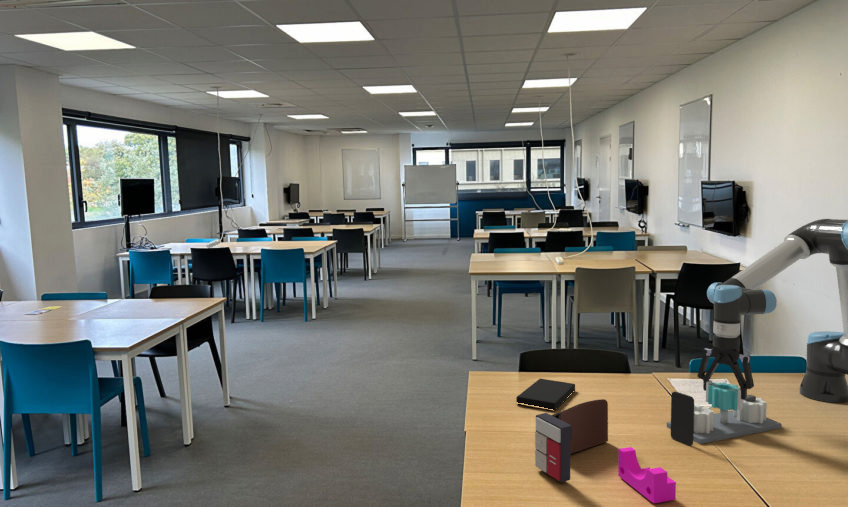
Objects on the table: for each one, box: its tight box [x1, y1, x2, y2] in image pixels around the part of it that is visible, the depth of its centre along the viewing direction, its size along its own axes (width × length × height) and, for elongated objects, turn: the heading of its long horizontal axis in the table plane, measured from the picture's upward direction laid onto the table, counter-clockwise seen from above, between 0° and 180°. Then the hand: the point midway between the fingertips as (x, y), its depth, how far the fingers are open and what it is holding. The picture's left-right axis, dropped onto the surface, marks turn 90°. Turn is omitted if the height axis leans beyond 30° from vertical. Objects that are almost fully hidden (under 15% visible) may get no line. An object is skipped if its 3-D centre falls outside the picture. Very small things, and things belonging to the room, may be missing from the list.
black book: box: [515, 378, 576, 411], centre depth 220 cm, size 14×23×3 cm, turn 148°
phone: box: [670, 391, 695, 447], centre depth 178 cm, size 7×1×15 cm, turn 31°
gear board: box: [666, 394, 782, 445], centre depth 188 cm, size 32×14×9 cm, turn 109°
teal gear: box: [707, 381, 740, 411], centre depth 188 cm, size 9×9×6 cm
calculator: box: [534, 412, 572, 483], centre depth 161 cm, size 11×4×15 cm, turn 28°
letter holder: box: [551, 398, 609, 455], centre depth 179 cm, size 10×20×14 cm, turn 122°
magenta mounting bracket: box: [617, 446, 677, 504], centre depth 153 cm, size 15×6×8 cm, turn 15°
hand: (724, 404), depth 188 cm, fingers closed on teal gear, 9 cm apart
